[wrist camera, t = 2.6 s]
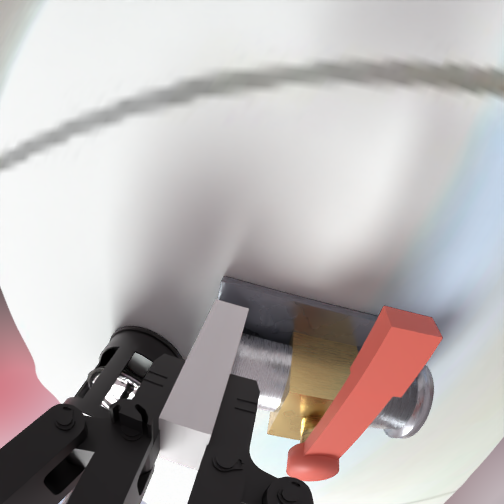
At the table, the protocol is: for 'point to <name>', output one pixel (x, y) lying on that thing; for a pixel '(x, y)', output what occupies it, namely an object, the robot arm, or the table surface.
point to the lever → (367, 390)
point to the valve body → (310, 361)
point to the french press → (118, 372)
